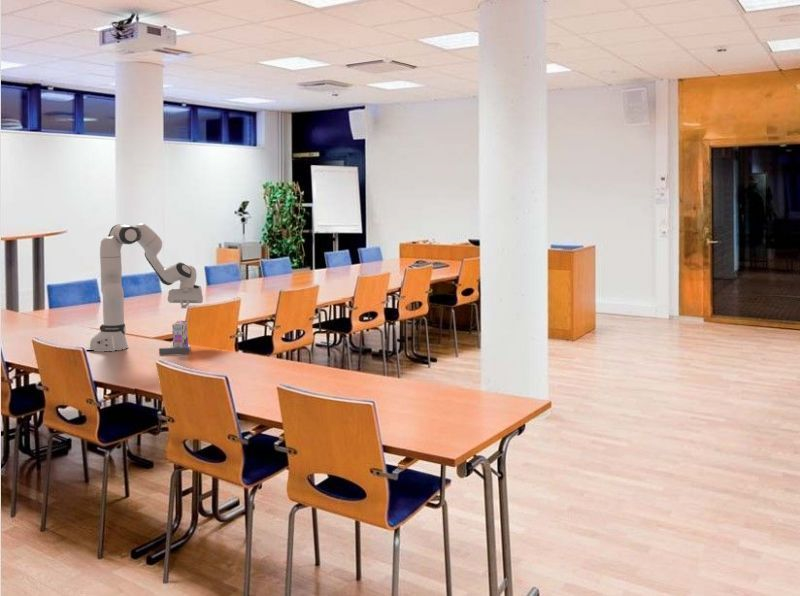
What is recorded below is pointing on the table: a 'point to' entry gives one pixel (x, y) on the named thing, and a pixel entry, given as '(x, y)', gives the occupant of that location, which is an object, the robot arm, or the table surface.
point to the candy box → (180, 334)
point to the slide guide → (174, 350)
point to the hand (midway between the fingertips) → (183, 307)
